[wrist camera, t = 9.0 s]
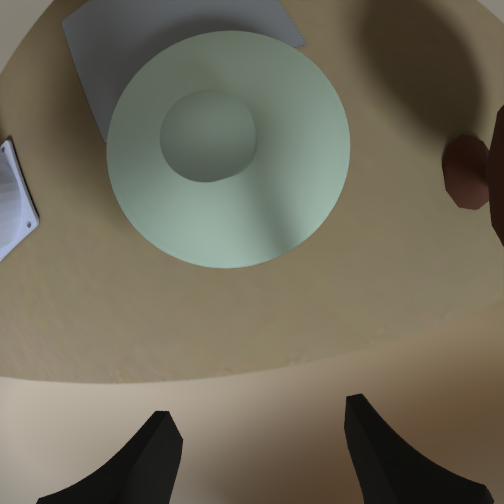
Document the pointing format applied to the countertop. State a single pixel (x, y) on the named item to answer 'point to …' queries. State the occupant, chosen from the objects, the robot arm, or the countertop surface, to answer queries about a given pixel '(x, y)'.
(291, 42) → the placemat
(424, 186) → the countertop surface
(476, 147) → the ice cream bowl
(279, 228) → the lid
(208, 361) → the countertop surface
